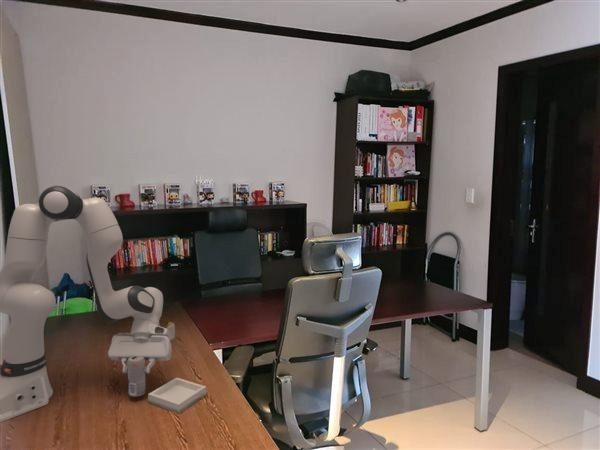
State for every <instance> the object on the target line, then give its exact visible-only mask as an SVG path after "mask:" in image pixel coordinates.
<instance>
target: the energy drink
mask: <svg viewBox="0 0 600 450" xmlns="http://www.w3.org/2000/svg"><path fill="white" fill-rule="evenodd" d="M126 366H128V373H127V387H128V388H127V390H128V391H127V394H128V395H129V396H131V397H134V398H135V397H140V396H143V395H144V394H145V393H146V387H147V386H146V373H144V367H145V366H146V360H145V359H144V356H143V357H132V356H131V357H129V358H128V361H127V363H126Z"/></svg>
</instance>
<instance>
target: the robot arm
mask: <svg viewBox="0 0 600 450" xmlns="http://www.w3.org/2000/svg"><path fill="white" fill-rule="evenodd" d="M68 220H75V221H76V222H77V223H78V224H79V226H80V228H81V230H82V233H83V235H84V237H85V241H86V245H87V254H86V256H85V257H86V265H87V270H88V274H89V277H90V281H91V284H92V288H93V292H94V295H95V302H96V304H95V305H96V306H95V307H96V311H97V314H98V315H99V317H100V318H101V319H102V320H104V322H107V323H114V322H117V321H120V320H122V319H125V318H128V317H131V318H133V321H132V326H131V331H130V332H118V333H116V334H114V335H113V336H112V338H111V344H110V346H109V349H108V351H107V355H108V358H109V359H110V360H111V361H121V364H122V373H123V374H128V365H127V361H128V358H129V357H131V356H132V357H143V356H144V359H145V361H148V362H149V363H148V364H147V366H146V365H145V367H144V373H145V374H150V370H151V369H152V367H153V366H154V365H155V364H156V361H157V362H158V361H162V362H163V361H166V362H168V361H169V360H170V359H171V358H172V351H173V350H172V343H171V341H170V339H171V335H170V333H169V331H168V330H167V329H166V328H167V327H166V328H165V327H163V326H161V325H160V319H161V317H162V313H163V310H164V309H163V307H164V295H163V292H162V291H161V290H159V289H158V288H157V287H152V286H147V287H142V286H140V285H132V286H128V287H125V288H122V289H119V290H114V289H113V286H112V282H111V279H110V276H109V275H110V273H109V271H108V270H109V269H108V264H109V263H110V261H111V259H112V258H113V257H114V256H115V255H116V254H117V253H118V252H119V250H121V247H122V246H123V245H122V244H123V242H124V241H123V240H124V238H123V237H124V236H123V233H122V230H121V227H120V226H119V223H118V220H117V218H116V216H115V214H114V212H113V211H112V209H111V207H110V206H109V204H108V203H107V201H106V200H105V199H103V198H100V197H89V198H85V199H83V198H81V196H80V195H79V194H78V193H77V192H76V191H75V190H73V189H72V188H70V187H68V186H63V185H53V186H50V187H47V188H46V189H44V190H43V191H42V192H41V193H40V196H39V198H38V203H23V204H21V205H20V204H19V205H18V206H17V207H16V208H15V209H14V211H13V213H12V216H11V219H10V222H9V223H10V224H9V228H8V231H7V233H8V234H7V240H6V247H5V254H4V260H3V264H2V267H1V269H0V313H2V314H5V315H9V317H10V324H9V328H8V330H7V331H6V332H5V334H4V335H3V338H2V342H3V353H4V354H3V355H4V359H3V362H2V364H0V423H3V422H5V421H7V420H10V419H12V418H16V417H18V416H20V415H23V414H26V413H28V412H31V411H34V410H36V409H38V408H42V407H43V406H46V405H48V404H49V401H50V399H51V397H52V396H53V394H54V390H53V388H52V385H51V383H50V380H49V376H48V372H47V371H48V370H47V364H48V359H47V353H46V351H45V339H44V337H45V336H44V332H45V331H44V330H45V323H46V321H47V318H48V317H49V316H50V315H51V314H52V313H53V312H54V310H55V308H56V303H57V301H56V300H57V299H56V295H55V293H54V292H52V291H51V290H49V289H48V288H47V287H44V286H43V285H41V284H37V283H34V282H33V281H34V278H35V276H36V274H37V272H38V270H39V269H40V268H42V267H43V266H44V264H45V263H46V255H47V248H48V247H47V246H48V239H49V231H50V227H51V224H53V223H55V222H59V221H68Z"/></svg>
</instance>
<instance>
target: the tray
mask: <svg viewBox="0 0 600 450" xmlns="http://www.w3.org/2000/svg"><path fill="white" fill-rule="evenodd" d="M206 396H207V386H206V385H202V384H200V383H199V384H198V383H197V382H196V383H195V382H192V381H191V380H190V381H189V380H186V379H183V378H181V377H175V378H173V379H172V380H170V381H168V382H166V383H165V384H163V385H161V386H160V387H158V388H156V389H155V390H153V391H151V392H149V393H148V394H147V400H148V404H151V405H153V406H157V407H159V408H162V409H165V410H168V411H171V412H173V413H176V414H181V413H182V412H184V411H185V410H186V409H188V408H189V407H191V406H193V405H194V404H195V403H197V402H198V401H199V400H201V399H202V398H204V397H206Z"/></svg>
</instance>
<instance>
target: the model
mask: <svg viewBox="0 0 600 450" xmlns="http://www.w3.org/2000/svg"><path fill="white" fill-rule="evenodd" d="M166 329H167V330H168V331H169V333H170V335H171V339H170V342H171V341H172V340H174V339H176V325H175V321H173V322H171V321H170V320H169V321H168V324H167V326H166Z"/></svg>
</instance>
